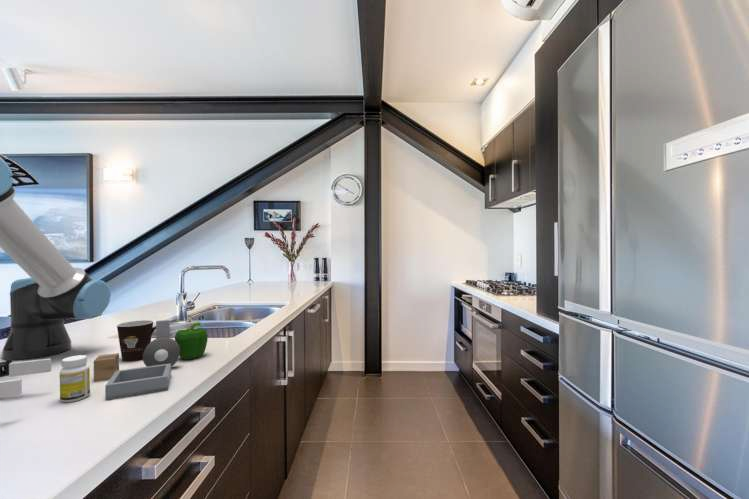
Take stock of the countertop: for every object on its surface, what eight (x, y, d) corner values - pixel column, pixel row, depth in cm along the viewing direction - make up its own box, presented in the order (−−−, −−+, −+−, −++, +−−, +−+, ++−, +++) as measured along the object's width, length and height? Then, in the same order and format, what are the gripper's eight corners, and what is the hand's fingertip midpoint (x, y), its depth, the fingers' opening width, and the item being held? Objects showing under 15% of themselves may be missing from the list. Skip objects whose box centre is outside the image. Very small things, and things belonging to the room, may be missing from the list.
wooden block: (99, 375, 86) (99, 355, 86) (119, 372, 88) (119, 353, 88) (93, 382, 81) (93, 361, 81) (114, 379, 83) (114, 358, 83)
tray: (116, 383, 80) (116, 370, 80) (171, 375, 85) (171, 363, 85) (105, 400, 71) (105, 385, 71) (167, 390, 76) (167, 376, 76)
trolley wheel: (146, 366, 92) (145, 321, 92) (180, 362, 95) (180, 318, 95) (142, 373, 86) (142, 325, 86) (179, 368, 90) (178, 322, 90)
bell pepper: (168, 362, 95) (167, 325, 96) (184, 353, 104) (183, 320, 104) (198, 361, 96) (198, 325, 96) (212, 352, 104) (212, 319, 104)
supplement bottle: (74, 393, 75) (74, 354, 75) (95, 393, 75) (95, 354, 75) (53, 403, 70) (52, 361, 70) (75, 403, 70) (75, 361, 70)
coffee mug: (109, 362, 96) (108, 326, 96) (134, 353, 104) (134, 320, 104) (146, 363, 94) (146, 327, 94) (169, 354, 103) (169, 320, 103)
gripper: (-74, 391, 71) (60, 374, 80) (-202, 455, 49) (4, 420, 58) (-74, 354, 71) (60, 341, 80) (-202, 401, 49) (4, 376, 58)
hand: (37, 374), depth 69 cm, fingers open, 13 cm apart
